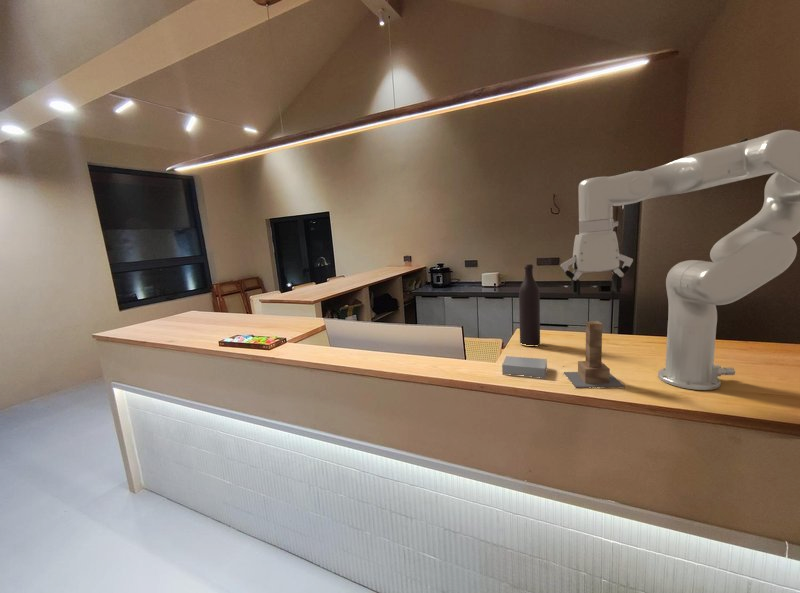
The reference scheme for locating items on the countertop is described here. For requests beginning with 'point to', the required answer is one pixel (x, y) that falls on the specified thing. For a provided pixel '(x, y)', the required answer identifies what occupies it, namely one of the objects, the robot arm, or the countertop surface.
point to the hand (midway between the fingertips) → (596, 293)
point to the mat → (581, 384)
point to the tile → (525, 366)
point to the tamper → (593, 356)
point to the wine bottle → (529, 309)
